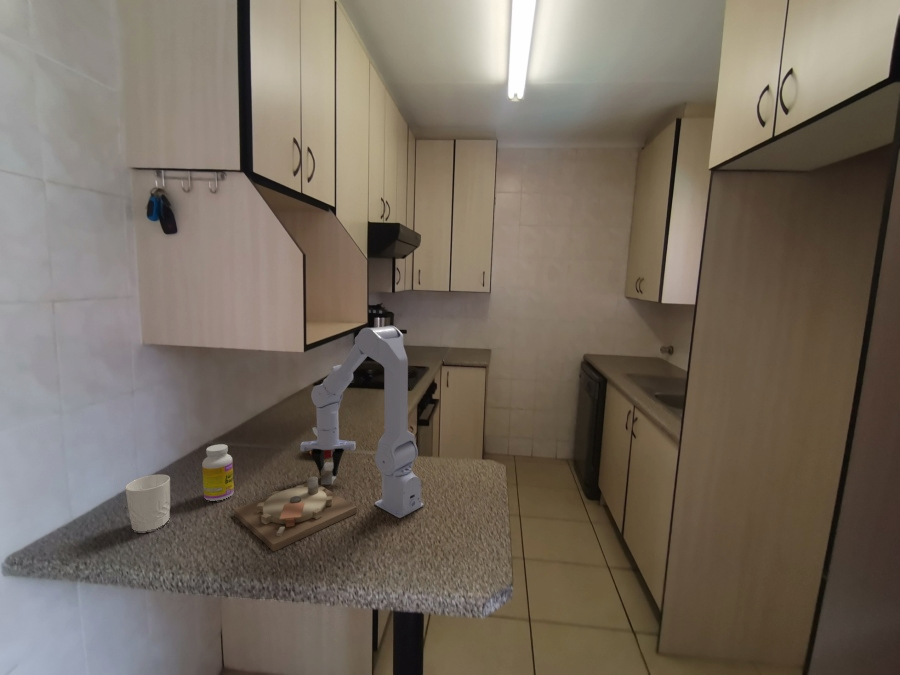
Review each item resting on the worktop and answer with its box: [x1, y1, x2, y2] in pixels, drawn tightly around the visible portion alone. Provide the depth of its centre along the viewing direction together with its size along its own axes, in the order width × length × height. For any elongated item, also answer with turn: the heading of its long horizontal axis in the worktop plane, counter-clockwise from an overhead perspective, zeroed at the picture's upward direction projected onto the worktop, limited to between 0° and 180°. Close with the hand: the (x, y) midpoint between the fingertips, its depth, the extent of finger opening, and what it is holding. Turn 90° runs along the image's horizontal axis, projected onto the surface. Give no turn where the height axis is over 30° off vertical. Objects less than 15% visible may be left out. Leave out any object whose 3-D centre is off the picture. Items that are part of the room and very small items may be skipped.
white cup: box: [124, 474, 171, 531], centre depth 91 cm, size 8×8×10 cm
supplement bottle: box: [201, 443, 235, 502], centre depth 104 cm, size 7×7×13 cm
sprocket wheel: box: [257, 476, 332, 527], centre depth 96 cm, size 16×16×5 cm
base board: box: [233, 481, 358, 552], centre depth 97 cm, size 20×20×2 cm
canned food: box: [309, 426, 335, 460], centre depth 134 cm, size 11×10×10 cm
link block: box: [320, 461, 337, 486], centre depth 114 cm, size 6×3×4 cm, turn 3°
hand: (328, 474), depth 114 cm, fingers closed on link block, 3 cm apart
